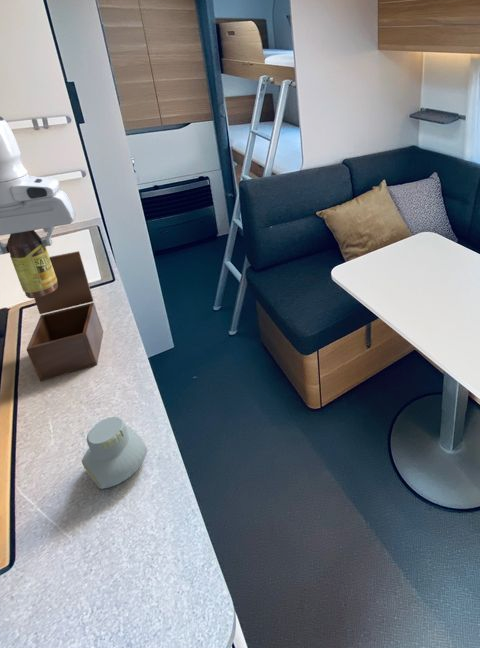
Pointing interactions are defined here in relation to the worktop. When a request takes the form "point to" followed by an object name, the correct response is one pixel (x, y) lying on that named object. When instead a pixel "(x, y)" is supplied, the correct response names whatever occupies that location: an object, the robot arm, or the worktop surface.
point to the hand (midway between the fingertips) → (27, 248)
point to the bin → (66, 341)
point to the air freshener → (113, 452)
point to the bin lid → (66, 284)
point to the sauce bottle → (32, 264)
